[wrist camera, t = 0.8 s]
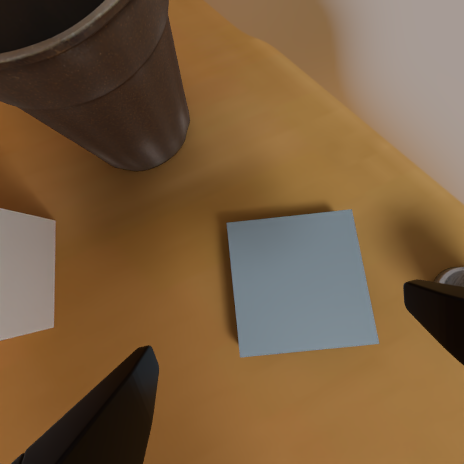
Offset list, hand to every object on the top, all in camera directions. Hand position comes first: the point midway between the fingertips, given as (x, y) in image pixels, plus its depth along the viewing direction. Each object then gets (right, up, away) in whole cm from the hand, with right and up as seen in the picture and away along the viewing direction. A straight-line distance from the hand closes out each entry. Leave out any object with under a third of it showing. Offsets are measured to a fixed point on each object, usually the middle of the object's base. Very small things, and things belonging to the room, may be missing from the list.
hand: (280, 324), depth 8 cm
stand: (+5, -2, +16) cm, 16 cm away
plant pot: (-13, +16, +20) cm, 28 cm away
